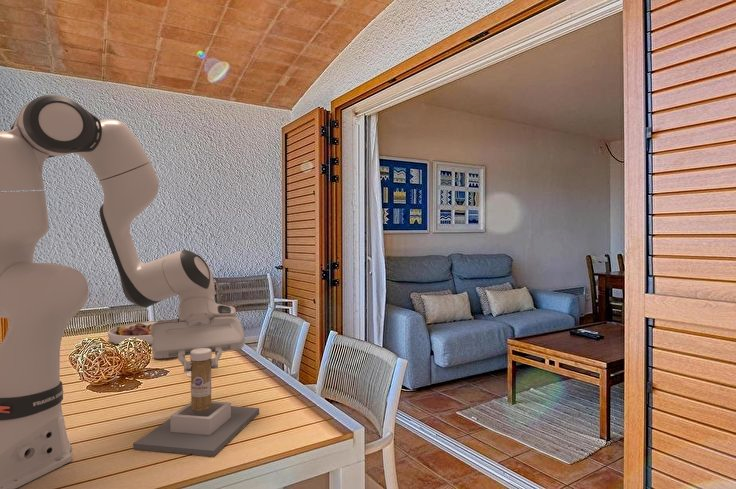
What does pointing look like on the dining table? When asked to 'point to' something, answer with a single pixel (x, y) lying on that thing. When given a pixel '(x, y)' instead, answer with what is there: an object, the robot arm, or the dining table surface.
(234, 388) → the dining table surface
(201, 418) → the socket board
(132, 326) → the bowl
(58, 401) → the robot arm
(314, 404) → the dining table surface
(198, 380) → the sprinkles bottle
